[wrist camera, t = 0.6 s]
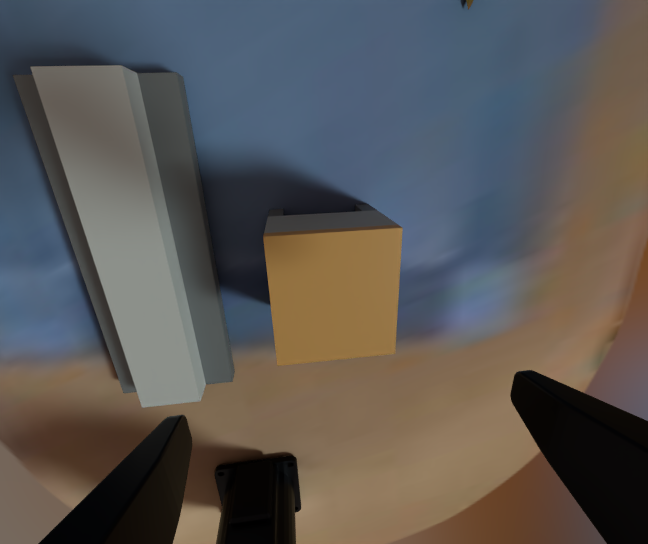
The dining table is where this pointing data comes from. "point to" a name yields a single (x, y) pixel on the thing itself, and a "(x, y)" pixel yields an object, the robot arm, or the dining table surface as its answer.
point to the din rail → (181, 213)
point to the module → (333, 284)
